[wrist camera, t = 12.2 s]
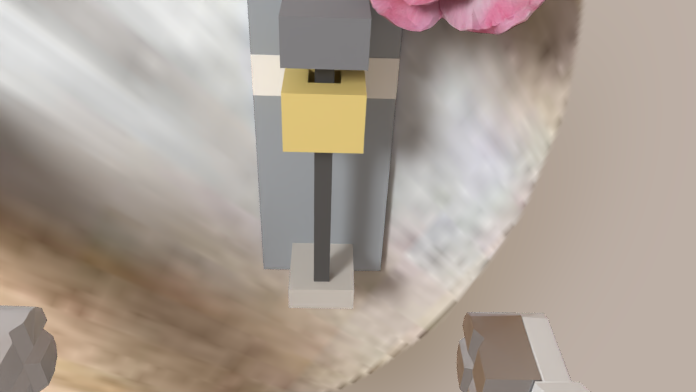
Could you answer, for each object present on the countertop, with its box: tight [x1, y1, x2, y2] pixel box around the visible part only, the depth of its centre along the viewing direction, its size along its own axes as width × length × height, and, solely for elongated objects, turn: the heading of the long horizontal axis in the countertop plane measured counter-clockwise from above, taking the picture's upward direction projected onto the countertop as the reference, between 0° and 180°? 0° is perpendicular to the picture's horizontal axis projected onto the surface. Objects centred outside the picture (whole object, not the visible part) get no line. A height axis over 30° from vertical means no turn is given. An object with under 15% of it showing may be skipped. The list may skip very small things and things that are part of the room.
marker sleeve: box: [281, 68, 367, 154], centre depth 39 cm, size 5×4×5 cm
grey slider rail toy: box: [247, 0, 402, 309], centre depth 43 cm, size 10×25×7 cm, turn 178°
